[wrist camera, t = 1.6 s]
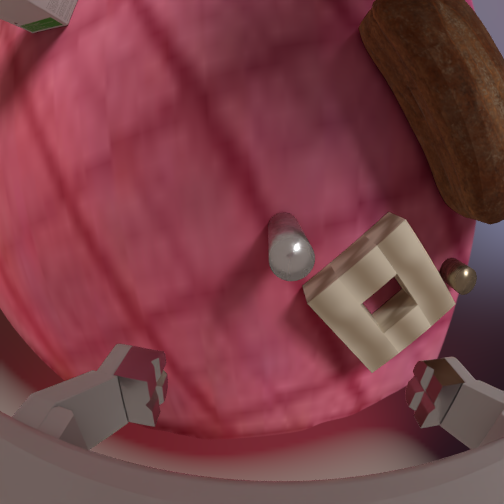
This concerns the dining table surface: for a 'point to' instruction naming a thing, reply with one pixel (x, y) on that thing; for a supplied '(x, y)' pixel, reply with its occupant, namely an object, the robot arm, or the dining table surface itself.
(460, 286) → the short bronze pin
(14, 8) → the skincare box
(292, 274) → the tall steel pin
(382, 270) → the birch block
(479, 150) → the bread
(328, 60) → the dining table surface
